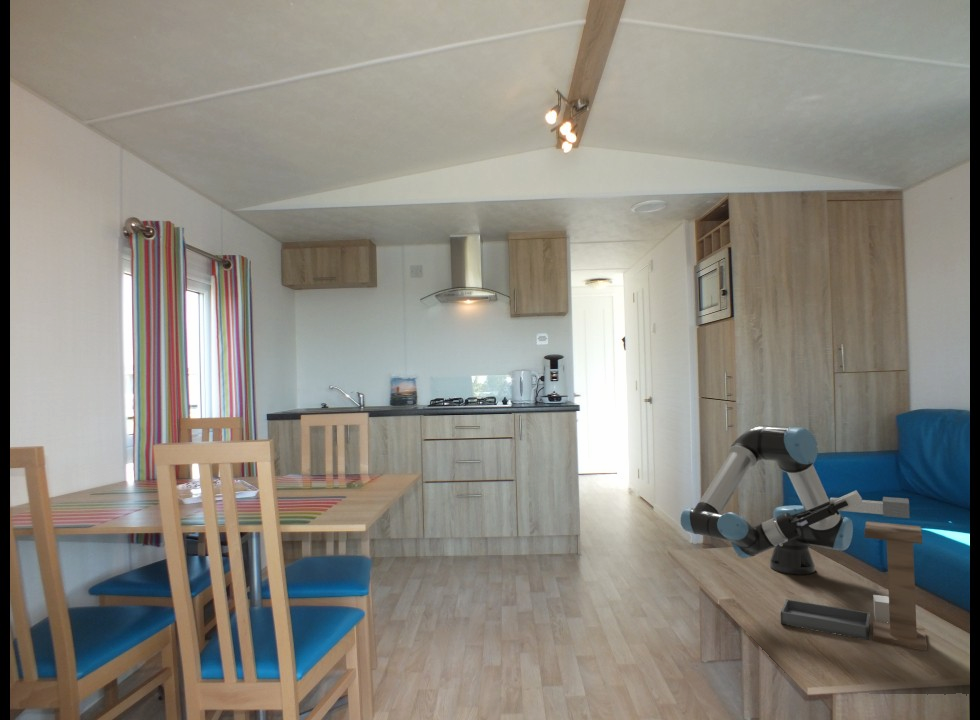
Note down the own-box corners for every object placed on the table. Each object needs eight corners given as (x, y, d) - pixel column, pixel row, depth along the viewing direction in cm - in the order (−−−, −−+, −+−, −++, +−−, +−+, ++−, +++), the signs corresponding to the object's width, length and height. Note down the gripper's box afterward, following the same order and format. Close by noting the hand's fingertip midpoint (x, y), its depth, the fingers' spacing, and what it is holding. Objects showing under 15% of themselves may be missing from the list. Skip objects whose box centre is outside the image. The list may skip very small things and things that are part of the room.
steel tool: (831, 506, 182) (831, 492, 182) (909, 513, 171) (908, 498, 172) (829, 511, 176) (829, 497, 176) (909, 518, 166) (909, 503, 166)
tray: (786, 610, 190) (786, 599, 191) (870, 624, 178) (869, 612, 179) (781, 624, 180) (780, 612, 181) (868, 640, 168) (868, 627, 168)
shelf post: (870, 624, 178) (866, 521, 179) (924, 634, 171) (920, 526, 172) (868, 640, 168) (864, 530, 169) (926, 651, 161) (922, 536, 162)
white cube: (897, 617, 183) (896, 597, 183) (899, 625, 178) (899, 604, 178) (873, 614, 186) (873, 594, 186) (875, 621, 181) (874, 601, 181)
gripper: (793, 534, 192) (868, 502, 181) (785, 547, 178) (866, 513, 167) (779, 512, 194) (852, 479, 183) (770, 523, 180) (849, 488, 169)
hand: (858, 496), depth 175 cm, fingers closed on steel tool, 3 cm apart
